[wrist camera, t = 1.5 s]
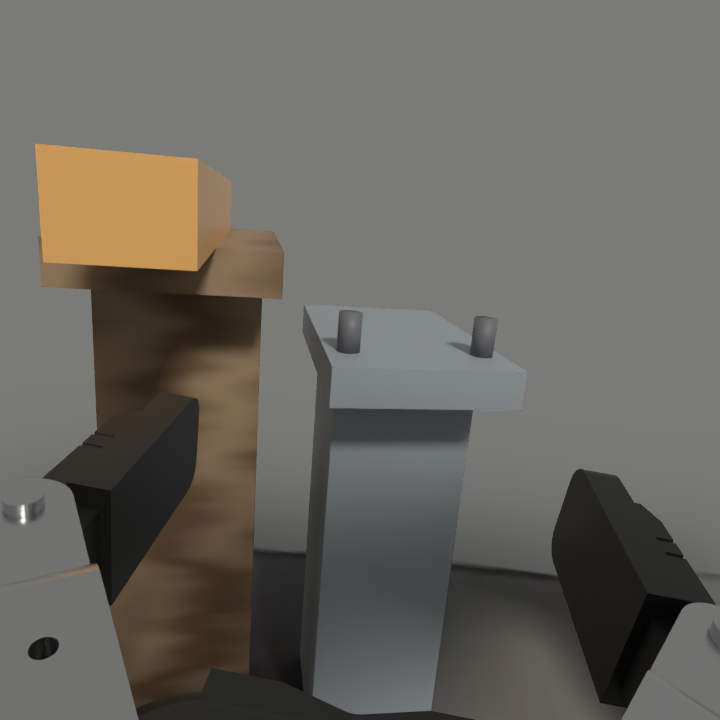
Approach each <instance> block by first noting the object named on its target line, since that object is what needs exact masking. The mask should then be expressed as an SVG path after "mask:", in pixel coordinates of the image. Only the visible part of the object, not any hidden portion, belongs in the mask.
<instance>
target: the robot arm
mask: <svg viewBox="0 0 720 720" xmlns="http://www.w3.org/2000/svg"><path fill="white" fill-rule="evenodd" d="M198 427H199V402H198V399H196V398H192V397H187V396H181V395H176V394H170V393H165V392H161V393H160V394H158V395H157V396H156V397H155V398H154V399H153V400H152V401H151V402H150V403H149V404H148V405H147V406H146V407H145V408H144V409H143V410H141V411H135V410H130V411H128V412H125V413H123V414H120V415H118V416H116V417H113V418H111V419H109V420H108V421H107V422H106V423H104V424H103V425H102V426H101V427H100V428H99V429H98V430H97V431H95V434H94V435H91V436H90V437H89V438H88V439H86V440H85V441H84V442H83V444H82V446H78V447H77V448H76V449H75V450H74V451H73V452H72V453H70V454H69V455H68V456H67V457H66V458H65V459H64V460H63V461H61V462H60V463H59V464H58V465H57V466H56V467H54V468H53V469H52V470H51V471H50V472H49V473H48V474H47V475H45V476H44V477H43V478H42V479H41V478H35V479H33V478H32V479H22V480H16V481H12V482H8V483H5V484H2V485H0V720H474V719H469V718H463V717H458V716H453V715H448V714H443V713H438V712H433V711H416V712H397V713H379V714H352V713H349V712H346V711H344V710H342V709H339V708H337V707H335V706H333V705H331V704H329V703H327V702H324V701H322V700H320V699H318V698H316V697H314V696H312V695H309V694H307V693H305V692H303V691H301V690H299V689H296V688H294V687H292V686H290V685H288V684H286V683H284V682H281V681H276V680H271V679H266V678H261V677H256V676H251V675H246V674H241V673H235V672H230V671H225V670H220V669H215V668H211V670H210V672H209V675H208V677H207V680H206V682H205V685H204V688H203V690H202V692H196V693H187V694H181V695H175V696H170V697H167V698H163V699H160V700H156V701H153V702H150V703H148V704H145V705H143V706H140V707H138V708H135V704H134V700H133V696H132V693H131V689H130V685H129V681H128V677H127V673H126V669H125V666H124V662H123V658H122V654H121V650H120V646H119V642H118V639H117V635H116V631H115V627H114V623H113V619H112V615H111V612H110V608H109V605H111V606H112V604H113V603H114V601H115V600H116V598H117V597H118V595H119V594H120V592H121V591H122V589H123V588H124V586H125V585H126V583H127V582H128V580H129V579H130V577H131V576H132V574H133V573H134V571H135V570H136V568H137V567H138V565H139V564H140V562H141V561H142V559H143V558H144V556H145V555H146V553H147V552H148V550H149V549H150V547H151V546H152V544H153V543H154V541H155V540H156V538H157V537H158V535H159V534H160V532H161V531H162V529H163V528H164V526H165V525H166V523H167V522H168V520H169V519H170V517H171V516H172V514H173V513H174V511H175V510H176V508H177V507H178V505H179V504H180V502H181V501H182V499H183V498H184V496H185V495H186V493H187V492H188V490H189V488H190V486H191V483H192V481H193V477H194V473H195V469H196V461H197V444H198ZM552 558H553V563H554V566H555V568H556V571H557V575H558V578H559V581H560V584H561V587H562V590H563V593H564V596H565V599H566V602H567V605H568V608H569V611H570V614H571V617H572V620H573V623H574V626H575V629H576V632H577V635H578V638H579V641H580V644H581V647H582V650H583V653H584V656H585V659H586V662H587V665H588V668H589V671H590V674H591V677H592V680H593V683H594V686H595V689H596V692H597V695H598V698H599V701H600V703H604V704H609V705H614V706H619V707H625V708H627V710H626V712H625V714H624V716H623V718H622V720H720V606H717V605H716V604H715V603H714V601H713V600H712V598H711V597H710V595H709V594H708V592H707V591H706V589H705V588H704V586H703V585H702V583H701V581H700V580H699V578H698V577H697V575H696V574H695V572H694V571H693V569H692V568H691V566H690V565H689V563H688V562H687V560H686V559H683V554H682V553H681V551H680V550H679V548H678V547H677V545H676V544H674V543H673V539H672V537H671V536H670V534H669V533H668V531H667V530H666V528H665V527H664V525H663V524H662V522H661V521H660V520H659V519H657V518H656V517H655V516H653V514H651V513H650V512H649V511H648V510H647V509H646V508H644V507H643V506H642V505H641V504H637V503H634V502H633V500H632V499H631V497H630V495H629V494H628V492H627V490H626V489H625V487H624V486H623V484H622V483H621V481H620V479H619V478H618V477H617V476H615V475H610V474H605V473H599V472H593V471H588V470H583V469H578V470H577V471H576V472H575V473H574V474H573V476H572V479H571V481H570V484H569V487H568V490H567V493H566V496H565V499H564V502H563V505H562V508H561V511H560V514H559V517H558V520H557V523H556V526H555V529H554V532H553V537H552Z"/></svg>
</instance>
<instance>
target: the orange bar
mask: <svg viewBox="0 0 720 720" xmlns="http://www.w3.org/2000/svg"><path fill="white" fill-rule="evenodd" d="M35 145H36V146H35V147H36V162H37V177H38V191H39V207H40V223H41V239H42V254H43V262H46V263H63V264H81V265H98V266H116V267H133V268H151V269H168V270H185V271H198V270H199V269H200V267H201V266H202V265H203V264H204V262H205V261H206V260H207V259H208V257H209V256H210V255H211V254H212V253H213V251H214V250H215V249H216V248H217V246H218V245H219V244H220V243H221V241H222V240H223V239H224V238H225V236H226V235H227V234H228V233H229V232H230V230H231V185H232V182H231V181H229V180H228V179H227V178H225V177H224V176H222V175H221V174H219V173H218V172H216V171H215V170H213V169H212V168H210V167H209V166H208V165H206V164H205V163H203V162H202V161H200V160H198V159H194V158H183V157H171V156H161V155H151V154H140V153H129V152H119V151H108V150H107V151H106V150H97V149H87V148H76V147H65V146H54V145H43V144H35Z"/></svg>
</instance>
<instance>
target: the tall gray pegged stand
mask: <svg viewBox="0 0 720 720" xmlns="http://www.w3.org/2000/svg"><path fill="white" fill-rule="evenodd" d="M497 322H498V320H497V319H495V318H491V317H485V316H476V317H475V318H474V326H473V334H472V336H470V335H468V334H467V333H465V332H464V331H462V330H461V329H459V328H457V327H456V326H454V325H453V324H451V323H450V322H448V321H446V320H445V319H443V318H441V317H440V316H439V315H437V314H436V313H434V312H432V311H426V310H425V311H424V310H405V309H384V308H363V307H343V306H321V305H304V317H303V334H304V337H305V340H306V343H307V345H308V348H309V351H310V354H311V357H312V360H313V362H314V365H315V368H316V371H317V375H318V376H317V390H316V406H315V423H314V438H313V455H312V470H311V487H310V504H309V520H308V535H307V551H306V567H305V583H304V599H303V615H302V631H301V647H300V660H301V671H302V681H303V692H305V693H307V694H309V695H312V696H314V697H316V698H318V699H320V700H322V701H324V702H327V703H329V704H331V705H333V706H335V707H337V708H339V709H342V710H344V711H346V712H349V713H352V714H379V713H397V712H416V711H431V707H432V700H433V693H434V686H435V678H436V671H437V664H438V657H439V650H440V643H441V635H442V628H443V621H444V614H445V607H446V599H447V592H448V585H449V578H450V571H451V563H452V556H453V549H454V542H455V534H456V528H457V520H458V513H459V506H460V499H461V492H462V483H463V477H464V470H465V462H466V455H467V448H468V441H469V434H470V427H471V419H472V413H473V410H504V411H506V410H509V411H521V408H522V402H523V396H524V390H525V384H526V378H527V372H526V371H525V370H523V369H522V368H520V367H518V366H517V365H515V364H514V363H512V362H511V361H509V360H507V359H506V358H504V357H503V356H501V355H499V354H498V353H497V352H495V351H493V350H494V343H495V336H496V329H497Z"/></svg>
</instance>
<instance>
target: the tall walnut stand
mask: <svg viewBox="0 0 720 720" xmlns="http://www.w3.org/2000/svg"><path fill="white" fill-rule="evenodd" d="M38 242H39V257H40V271H41V287H53V288H54V287H55V288H74V289H91V299H92V300H91V301H92V322H93V345H94V369H95V391H96V413H97V430H98V429H99V428H100V427H101V426H102V425H103V424H104V423H106V422H107V421H108V420H109V419H111V418H113V417H116V416H118V415H120V414H123V413H125V412H128V411H130V410H135V411H141V410H143V409H144V408H145V407H146V406H147V405H148V404H149V403H150V402H151V401H152V400H153V399H154V398H155V397H156V396H157V395H158V394H160V393H161V392H165V393H170V394H176V395H181V396H187V397H192V398H196V399H198V402H199V427H198V444H197V461H196V469H195V473H194V477H193V481H192V483H191V486H190V488H189V490H188V492H187V493H186V495H185V496H184V498H183V499H182V501H181V502H180V504H179V505H178V507H177V508H176V510H175V511H174V513H173V514H172V516H171V517H170V519H169V520H168V522H167V523H166V525H165V526H164V528H163V529H162V531H161V532H160V534H159V535H158V537H157V538H156V540H155V541H154V543H153V544H152V546H151V547H150V549H149V550H148V552H147V553H146V555H145V556H144V558H143V559H142V561H141V562H140V564H139V565H138V567H137V568H136V570H135V571H134V573H133V574H132V576H131V577H130V579H129V580H128V582H127V583H126V585H125V586H124V588H123V589H122V591H121V592H120V594H119V595H118V597H117V598H116V600H115V601H114V603H113V604H112V606H111V605H109V608H110V612H111V615H112V619H113V623H114V627H115V631H116V635H117V639H118V642H119V646H120V650H121V654H122V658H123V662H124V666H125V669H126V673H127V677H128V681H129V685H130V689H131V693H132V696H133V700H134V704H135V708H138V707H140V706H143V705H145V704H148V703H150V702H153V701H156V700H160V699H163V698H167V697H170V696H175V695H181V694H187V693H196V692H202V690H203V688H204V685H205V682H206V680H207V677H208V675H209V672H210V670H211V668H215V669H220V670H225V671H230V672H235V673H241V674H246V675H249V659H250V630H251V601H252V572H253V543H254V513H255V484H256V456H257V427H258V396H259V369H260V340H261V338H260V337H261V311H262V298H274V299H282V288H283V266H284V252H283V249H282V247H281V245H280V243H279V242H278V240H277V238H276V236H275V234H274V232H272V231H257V230H244V229H231V230H230V232H229V233H228V234H227V235H226V236H225V238H224V239H223V240H222V241H221V243H220V244H219V245H218V246H217V248H216V249H215V250H214V251H213V253H212V254H211V255H210V256H209V257H208V259H207V260H206V261H205V262H204V264H203V265H202V266H201V267H200V269H199V270H198V271H185V270H168V269H151V268H133V267H116V266H98V265H81V264H63V263H46V262H43V254H42V239H41V236H38Z"/></svg>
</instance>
